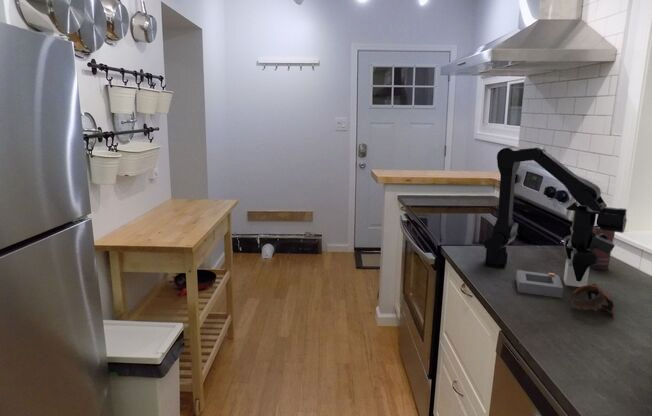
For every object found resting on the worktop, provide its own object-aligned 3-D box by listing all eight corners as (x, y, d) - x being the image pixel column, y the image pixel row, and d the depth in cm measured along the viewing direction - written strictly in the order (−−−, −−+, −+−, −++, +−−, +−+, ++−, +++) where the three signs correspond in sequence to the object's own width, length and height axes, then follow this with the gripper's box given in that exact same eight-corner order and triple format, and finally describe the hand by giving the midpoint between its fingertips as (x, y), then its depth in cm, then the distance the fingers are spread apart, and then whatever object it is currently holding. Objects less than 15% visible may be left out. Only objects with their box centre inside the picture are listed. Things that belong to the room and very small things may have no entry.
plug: (565, 285, 138) (568, 263, 136) (563, 279, 142) (566, 258, 140) (586, 287, 136) (589, 265, 134) (583, 282, 140) (586, 260, 138)
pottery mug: (620, 325, 114) (608, 299, 112) (579, 331, 119) (567, 306, 117) (614, 296, 124) (603, 272, 122) (577, 303, 129) (566, 280, 127)
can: (612, 271, 150) (618, 230, 146) (590, 269, 151) (597, 229, 148) (604, 265, 155) (611, 225, 152) (584, 263, 157) (590, 224, 154)
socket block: (518, 291, 132) (519, 280, 131) (516, 279, 142) (517, 268, 141) (562, 297, 128) (563, 286, 128) (557, 284, 138) (558, 273, 137)
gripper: (622, 237, 124) (613, 291, 127) (606, 221, 141) (599, 269, 144) (577, 233, 127) (569, 285, 131) (566, 218, 144) (560, 264, 148)
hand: (575, 275), depth 138 cm, fingers open, 9 cm apart
